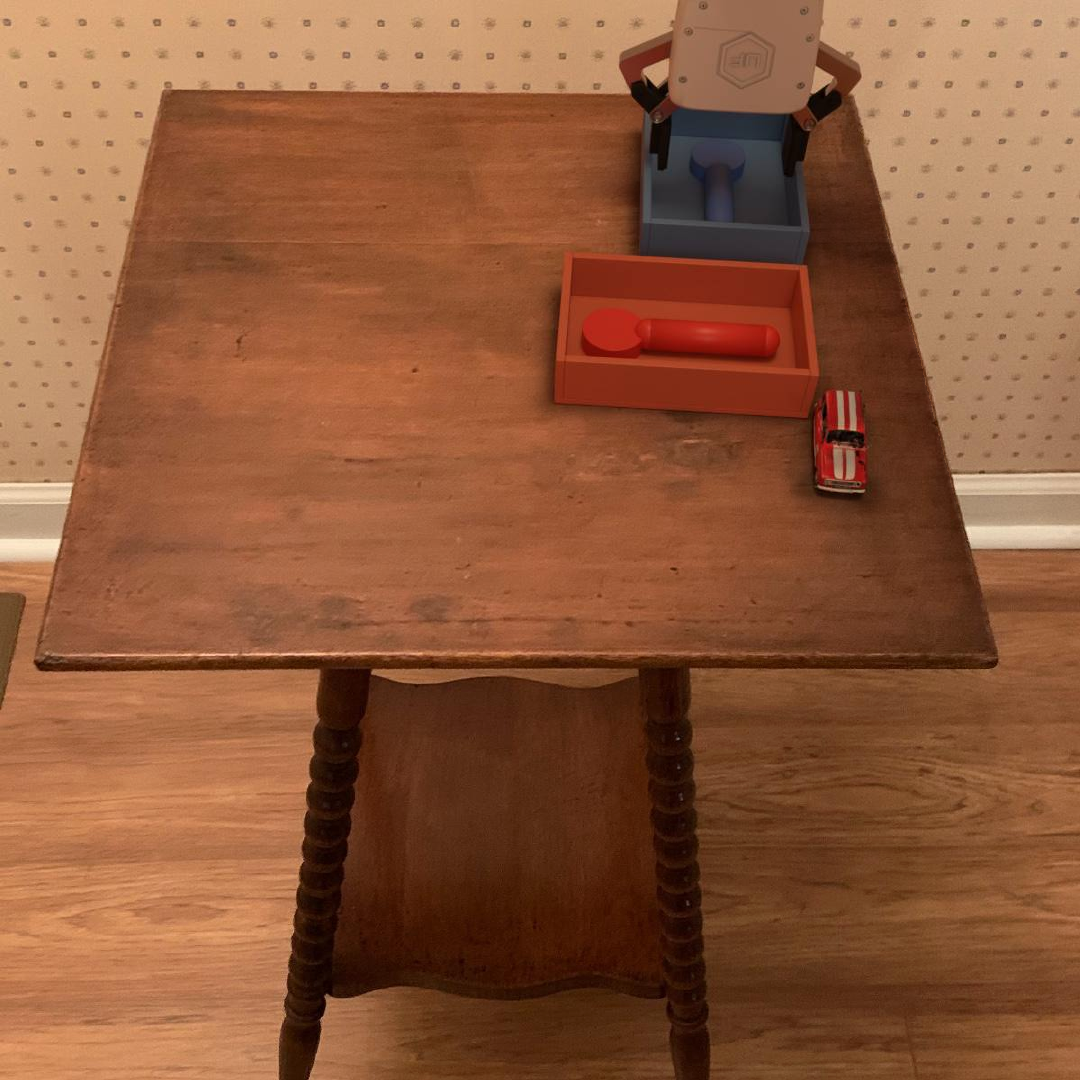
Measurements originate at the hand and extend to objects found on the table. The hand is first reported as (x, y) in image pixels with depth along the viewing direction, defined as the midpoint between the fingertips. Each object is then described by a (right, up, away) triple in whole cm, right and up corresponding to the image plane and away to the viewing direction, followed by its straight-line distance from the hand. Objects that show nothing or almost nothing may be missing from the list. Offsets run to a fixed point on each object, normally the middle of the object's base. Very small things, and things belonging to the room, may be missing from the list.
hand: (724, 163), depth 92 cm
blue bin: (0, -2, +3) cm, 4 cm away
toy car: (+6, -23, -13) cm, 27 cm away
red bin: (-4, -16, -8) cm, 18 cm away
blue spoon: (0, -2, +2) cm, 3 cm away
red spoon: (-4, -15, -8) cm, 18 cm away
